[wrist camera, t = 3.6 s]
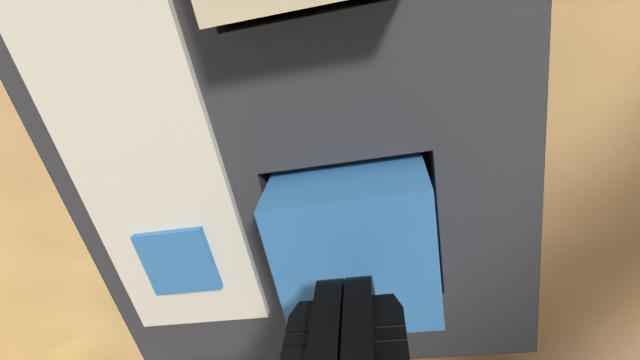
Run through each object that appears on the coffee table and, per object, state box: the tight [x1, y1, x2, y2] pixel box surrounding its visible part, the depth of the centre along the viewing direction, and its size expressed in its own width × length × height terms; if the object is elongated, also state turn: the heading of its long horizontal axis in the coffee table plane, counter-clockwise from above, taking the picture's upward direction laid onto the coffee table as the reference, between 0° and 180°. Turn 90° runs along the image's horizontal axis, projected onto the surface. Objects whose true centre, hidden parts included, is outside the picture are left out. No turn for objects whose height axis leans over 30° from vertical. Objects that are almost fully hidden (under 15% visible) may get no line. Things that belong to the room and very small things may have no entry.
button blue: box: [254, 152, 445, 333], centre depth 14 cm, size 5×5×4 cm
